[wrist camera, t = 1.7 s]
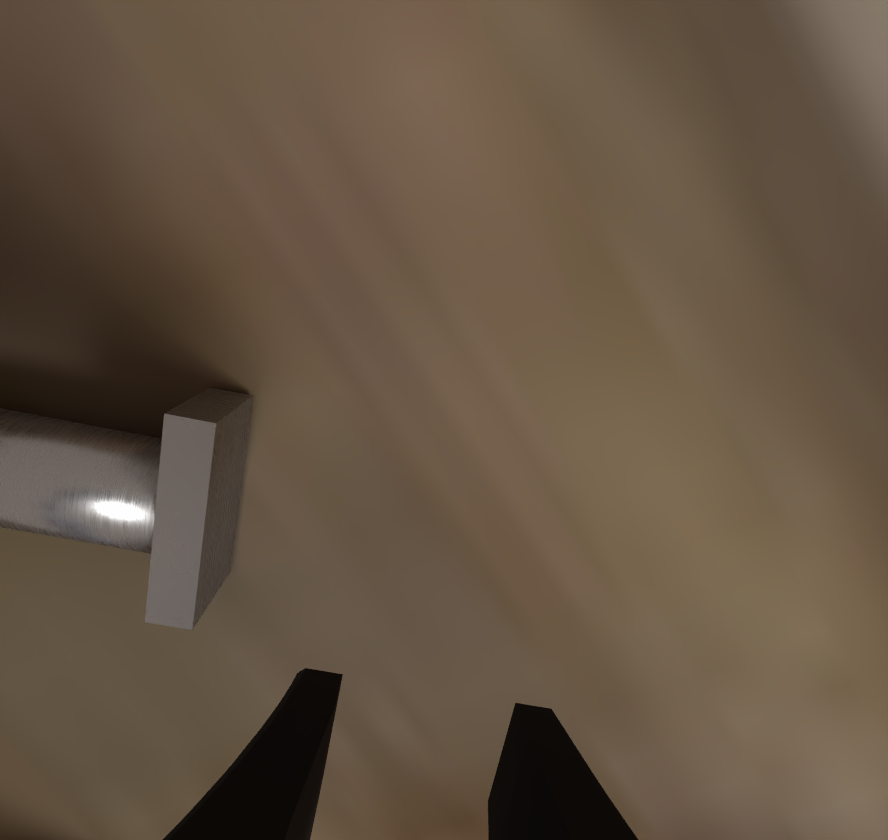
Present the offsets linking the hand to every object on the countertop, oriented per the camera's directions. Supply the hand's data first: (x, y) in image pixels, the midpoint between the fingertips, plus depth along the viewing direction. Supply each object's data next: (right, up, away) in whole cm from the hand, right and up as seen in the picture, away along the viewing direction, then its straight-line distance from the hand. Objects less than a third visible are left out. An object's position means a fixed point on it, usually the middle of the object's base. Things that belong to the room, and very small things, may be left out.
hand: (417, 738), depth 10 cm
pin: (-9, +4, +8) cm, 13 cm away
